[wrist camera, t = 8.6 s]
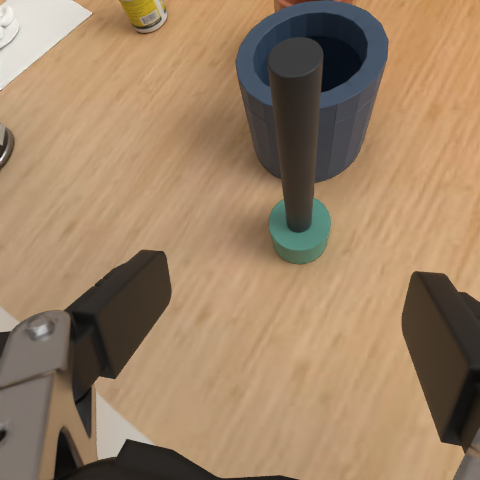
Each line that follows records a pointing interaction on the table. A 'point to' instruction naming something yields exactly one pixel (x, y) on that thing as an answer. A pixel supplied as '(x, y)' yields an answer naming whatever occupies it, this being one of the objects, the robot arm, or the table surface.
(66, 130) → the table surface
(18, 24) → the teacup and saucer
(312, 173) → the sponge wand
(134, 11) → the supplement bottle
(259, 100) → the jar
